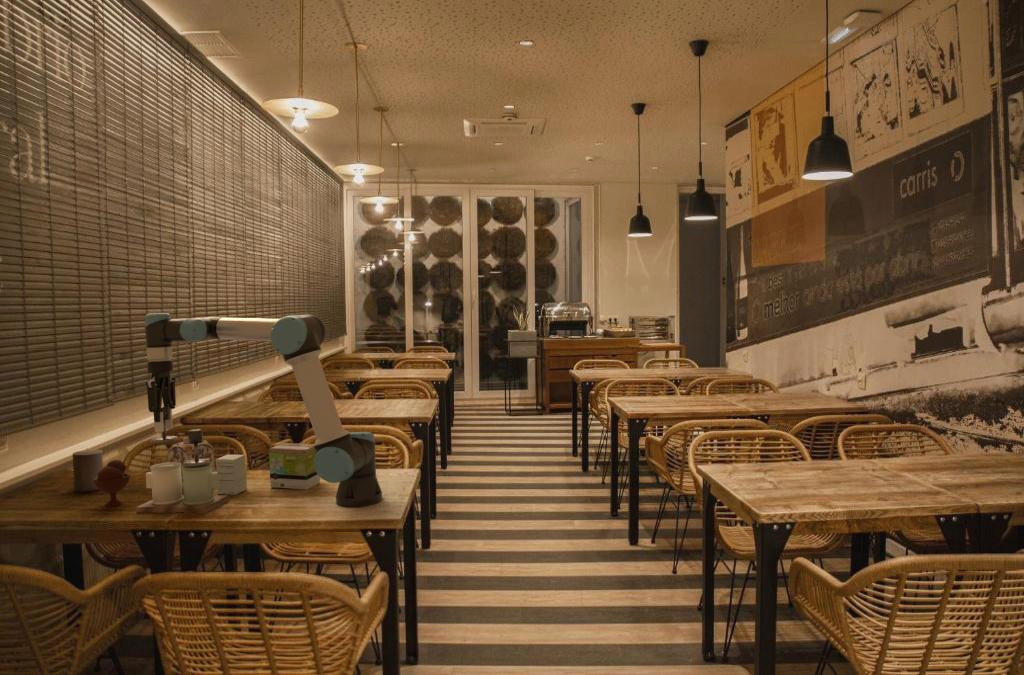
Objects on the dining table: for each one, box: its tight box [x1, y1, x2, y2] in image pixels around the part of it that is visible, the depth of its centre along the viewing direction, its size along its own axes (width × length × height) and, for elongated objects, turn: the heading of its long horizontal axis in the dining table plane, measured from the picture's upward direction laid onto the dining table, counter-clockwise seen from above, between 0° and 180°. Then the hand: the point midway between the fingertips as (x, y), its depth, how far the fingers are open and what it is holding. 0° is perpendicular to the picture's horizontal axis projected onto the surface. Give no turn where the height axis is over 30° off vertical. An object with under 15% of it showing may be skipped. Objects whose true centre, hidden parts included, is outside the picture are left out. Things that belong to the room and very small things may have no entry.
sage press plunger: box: [184, 428, 210, 467], centre depth 241 cm, size 8×8×11 cm
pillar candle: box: [72, 449, 104, 493], centre depth 269 cm, size 10×10×15 cm
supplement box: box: [215, 454, 248, 496], centre depth 259 cm, size 7×7×13 cm
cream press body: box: [145, 461, 184, 505], centre depth 243 cm, size 12×10×12 cm
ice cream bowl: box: [93, 459, 131, 508], centre depth 247 cm, size 11×11×15 cm
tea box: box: [268, 442, 321, 491], centre depth 266 cm, size 15×10×15 cm, turn 76°
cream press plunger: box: [150, 405, 179, 444], centre depth 242 cm, size 8×8×11 cm
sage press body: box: [181, 463, 219, 505], centre depth 241 cm, size 12×10×12 cm
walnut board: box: [136, 494, 229, 514], centre depth 243 cm, size 24×14×2 cm, turn 84°
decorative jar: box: [167, 436, 216, 490], centre depth 270 cm, size 12×12×18 cm
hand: (163, 430), depth 242 cm, fingers closed on cream press plunger, 4 cm apart
